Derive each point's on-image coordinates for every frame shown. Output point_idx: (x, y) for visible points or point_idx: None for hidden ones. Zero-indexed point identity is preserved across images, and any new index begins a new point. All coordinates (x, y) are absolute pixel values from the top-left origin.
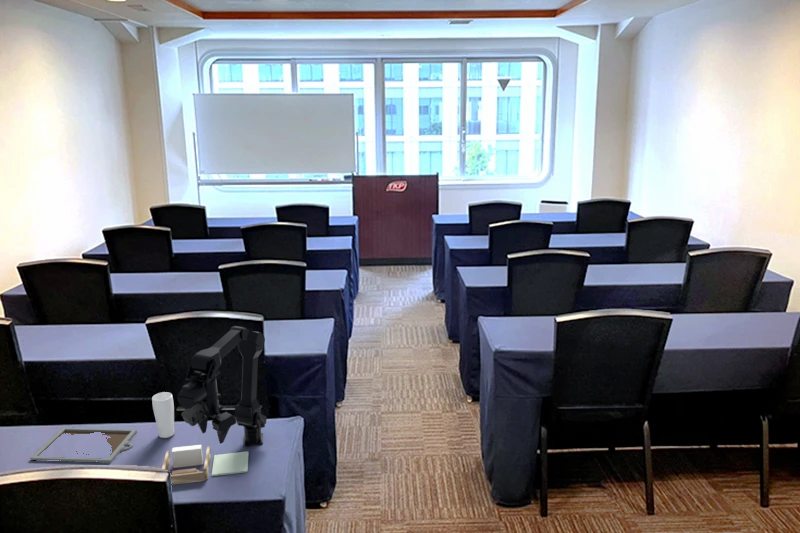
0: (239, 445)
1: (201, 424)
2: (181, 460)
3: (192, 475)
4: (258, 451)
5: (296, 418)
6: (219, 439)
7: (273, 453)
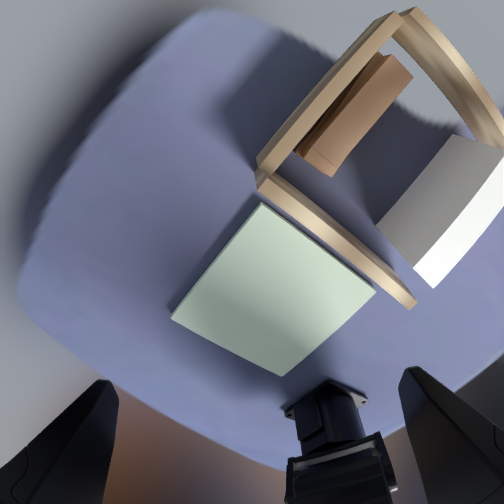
0: (345, 372)
1: (453, 445)
2: (449, 167)
3: (298, 115)
4: (260, 391)
5: None
6: (70, 414)
7: (211, 406)
